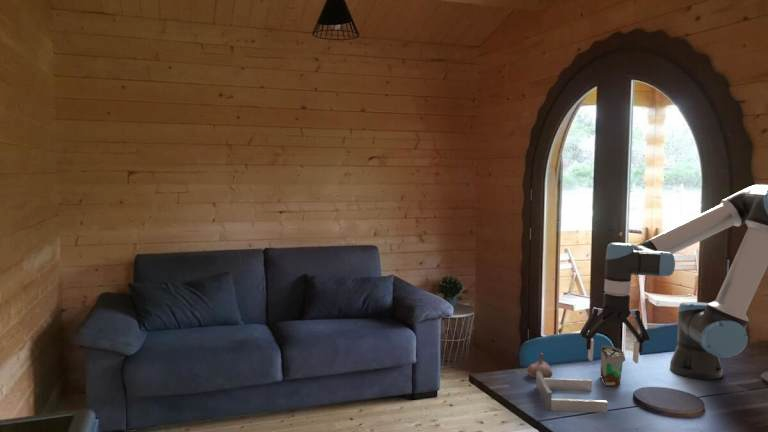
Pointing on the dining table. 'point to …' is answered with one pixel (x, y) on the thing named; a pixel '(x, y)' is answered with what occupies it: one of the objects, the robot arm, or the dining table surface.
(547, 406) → the rail dock
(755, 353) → the dining table surface
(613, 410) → the dining table surface
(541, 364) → the garlic bulb
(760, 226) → the robot arm
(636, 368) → the dining table surface
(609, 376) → the food container
